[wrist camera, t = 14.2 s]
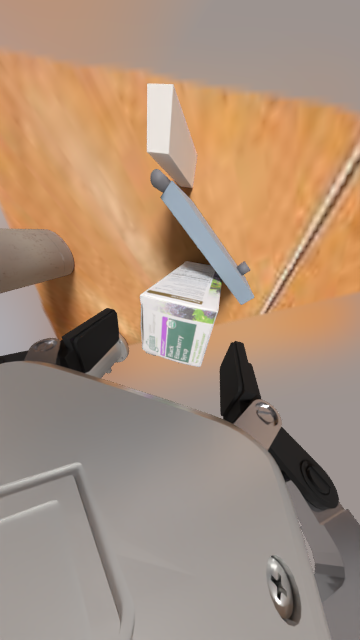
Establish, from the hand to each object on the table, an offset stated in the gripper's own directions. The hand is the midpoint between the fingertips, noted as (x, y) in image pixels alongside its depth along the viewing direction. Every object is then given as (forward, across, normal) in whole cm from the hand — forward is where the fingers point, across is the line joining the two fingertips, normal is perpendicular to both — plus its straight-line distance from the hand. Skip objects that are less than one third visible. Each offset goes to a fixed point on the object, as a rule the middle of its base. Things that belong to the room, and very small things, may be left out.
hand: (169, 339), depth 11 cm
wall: (+14, +3, -3) cm, 15 cm away
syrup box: (+14, -1, -1) cm, 14 cm away
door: (+14, -2, -7) cm, 16 cm away
